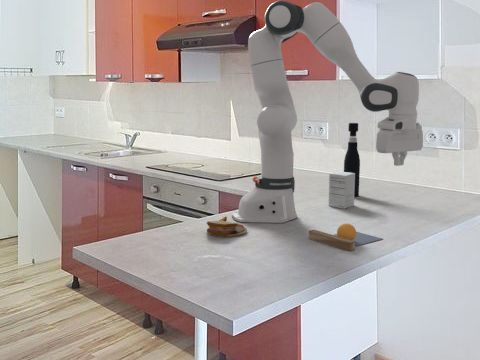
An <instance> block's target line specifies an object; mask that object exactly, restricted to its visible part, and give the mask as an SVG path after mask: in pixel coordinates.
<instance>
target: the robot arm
mask: <svg viewBox="0 0 480 360" xmlns="http://www.w3.org/2000/svg"><path fill="white" fill-rule="evenodd" d="M264 24H265V26H264V27H262V28H261V29H258V30H256V31H253V32H252V33H251V34H250V35H249V37H248V39H247V40H248V41H247V46H248V48H247V49H248V50H247V51H248V60H249V64H250V65H249V66H250V70H251V76H252V79H253V80H252V81H253V84H254V90H255V92H256V94H257V96H258V100H259V102H260V105H261V108H262V109H261V111H259V114H258V116H257V120H256V125H257V128H258V139H259V146H260V155H261V157H260V160H261V161H260V164H261V165H260V167H261V168H260V176H257V175H254V176H253V177H252V181H253V183H255V184H254V186H255V187H253V188H252V189H251V190H250V191H249V192H247V193H246V194H245V195H243V196H242V197H241V199H240V200H239V204H238V209H237V210H234V211H232V213H231V214H232V216H231V217H232V218H233V219H234V220H235V221H237V222H240V223H271V224H272V223H273V224H274V223H276V224H278V223H280V224H283V223H286V222H288V221H291V220H295V219H296V218H298V215H297V211H296V206H295V205H296V204H295V199H294V198H295V197H294V192H295V187H296V185H295V183H296V182H295V177H294V149H293V141H292V140H293V139H292V138H293V137H292V131H293V130H294V129H295V128H296V126H297V123H298V122H297V121H298V117H297V116H298V115H297V111H296V108H295V107H296V106H295V104H294V100H293V96H292V93H291V91H290V90H291V89H290V87H289V84H288V79H287V75H286V69H285V65H284V59H283V55H282V43H284V42H286V41H288V40H290V39H291V38H294V37H295V36H296V35H297V34H298V33H300V34H303V35H304V36H306V37H307V38H308V40H309V41H310V42H311V44H312V45H313V47H314V48H316V50H317V51H318V52H319V53H320V54H321V55H322V56H323V57H324V58H325V59H327V60H328V61H329V62H331V63H333V65H335V66H337V67H338V68H339V69H341V70H342V71H343V72H344V73H345V75H346V76H347V77H348V78H349V80H350V81H351V83H353V85H354V86H355V88H356V89H357V91H358V92H359V95H360V101H361V104H362V105H363V107H364V108H365V109H366V110H367V111H369V112H372V113H379V112H382V111H388V116H386V117H385V118H384V119H381V120H380V121H378V123H377V128H378V131H377V133H376V143H375V148H376V151H377V152H378V153H380V154H391V156H392V159H393V166H396V167H397V166H399V167H400V166H404V165H405V159H406V157H407V156H408V152H415V151H418V152H419V151H422V149H423V147H424V133H423V132H424V131H423V129H422V126H421V124H420V123H419V122H417V119H418V111H417V107H418V103H419V97H420V95H419V94H420V88H419V87H420V85H419V84H420V83H419V79H418V78H417V76H415V75H414V74H411V73H408V72H404V71H403V72H402V71H395V72H394V73H392V74H391V75H389V76H387V77H385V78H383V79H380V80H377V79H376V78H375V77H374V76H372V74H371V73H370V72H369V70H368V69H367V68H366V67H365V66H364V64H363V63H362V61H361V60H360V58H359V57H358V55H357V53H356V52H357V51H356V50H355V48H354V44H353V41H352V39H351V37H350V35H349V33H348V31H347V30H346V27H345V26H344V25H343V23H342V22H341V21H340V20H339V18H337V17H336V15H335V14H334V13H333V11H331V10H330V9H329V8H328V7H327V6H325V5H324V4H323V3H322V2H318V1H315V2H311V3H309V4H307V5H306V6H305V7H303V8H302V6H300V5H297V4H295V3H292V2H290V1H286V0H277V1H275V2H273V3H271V4H269V6H268V7H267V9H266V11H265V14H264Z"/></svg>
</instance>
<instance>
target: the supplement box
mask: <svg viewBox="0 0 480 360" xmlns="http://www.w3.org/2000/svg"><path fill="white" fill-rule="evenodd" d="M354 191H355V173H350V172H344V171H341V170H339V171H335V172H331V173H329V179H328V206H329V207H332V208H338V209H347V208H351V207H353V206H355V197H354Z"/></svg>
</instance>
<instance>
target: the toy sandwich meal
mask: <svg viewBox="0 0 480 360" xmlns="http://www.w3.org/2000/svg"><path fill="white" fill-rule="evenodd" d="M227 219H228V217H227V216H224V217H222V218H221V219H219V220H212V221H210V220H209V221H207V222H206V224H207V226H208V228H207V229H206V232H207V233H208V234H209V235H210V236H212V237H213V236H214V237H218V238H237V237H241V236H243V235H245V234H246V233H247V231H248V229H247V227H244V225H243V224H239V223H238V222H232V221H228V220H227Z"/></svg>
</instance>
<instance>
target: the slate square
mask: <svg viewBox="0 0 480 360" xmlns="http://www.w3.org/2000/svg"><path fill="white" fill-rule="evenodd" d="M333 235H335V236H337V233H335V234H333ZM381 240H383V238H381V237H378V236H375V235H371V234H368V233H367V234H366V233H363V232H359V231H356V236H355V238H354V239H353V240H352V241H355V247H359V246H363V245H367V244H370V243H374V242H377V241H378V242H379V241H381Z"/></svg>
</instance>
